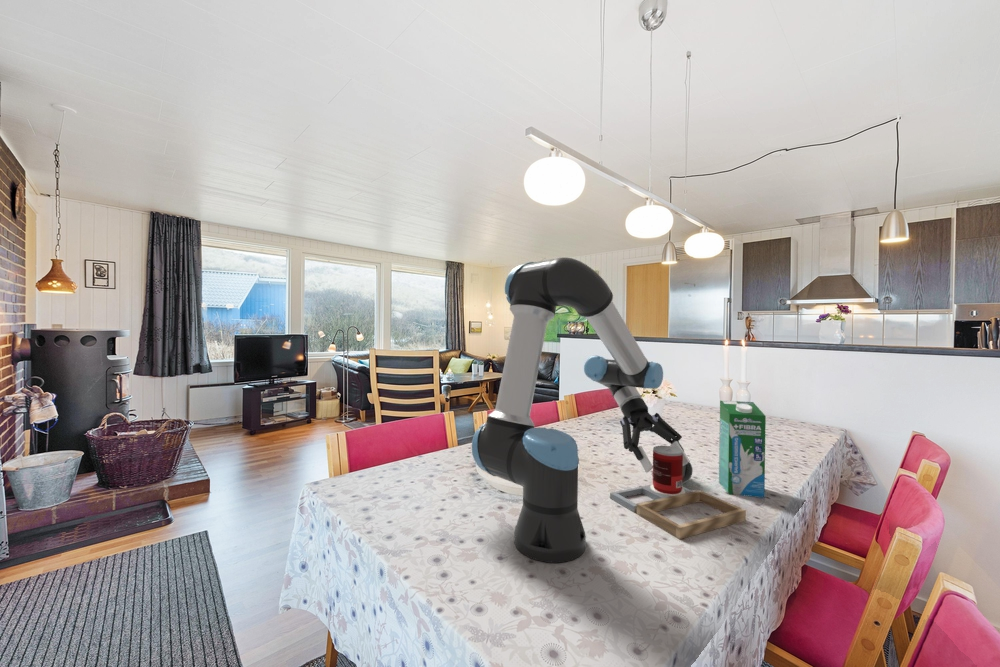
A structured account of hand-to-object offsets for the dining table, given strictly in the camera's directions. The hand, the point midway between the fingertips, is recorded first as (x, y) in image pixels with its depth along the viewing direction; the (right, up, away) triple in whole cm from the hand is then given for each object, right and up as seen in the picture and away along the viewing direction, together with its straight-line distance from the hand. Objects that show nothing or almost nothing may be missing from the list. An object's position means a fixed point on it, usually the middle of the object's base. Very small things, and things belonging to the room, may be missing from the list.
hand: (668, 467), depth 110 cm
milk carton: (+23, -8, +4) cm, 24 cm away
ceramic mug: (+6, -8, +12) cm, 15 cm away
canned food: (0, -6, 0) cm, 6 cm away
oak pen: (0, -8, -13) cm, 15 cm away
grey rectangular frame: (-5, -8, -2) cm, 10 cm away
